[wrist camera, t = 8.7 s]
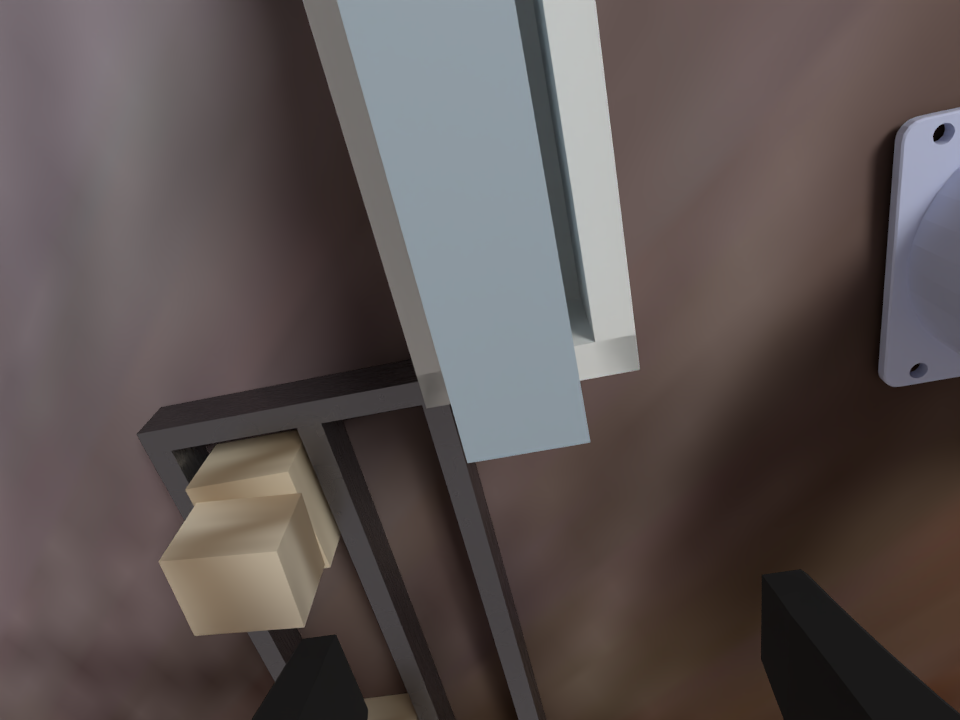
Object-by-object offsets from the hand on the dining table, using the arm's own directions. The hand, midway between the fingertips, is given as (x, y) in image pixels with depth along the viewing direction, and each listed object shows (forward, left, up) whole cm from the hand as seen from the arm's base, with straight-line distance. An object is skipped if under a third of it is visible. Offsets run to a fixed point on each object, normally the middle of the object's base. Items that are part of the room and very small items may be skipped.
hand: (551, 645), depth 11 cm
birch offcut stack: (+9, +3, -11) cm, 14 cm away
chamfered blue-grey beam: (0, -9, -10) cm, 13 cm away
